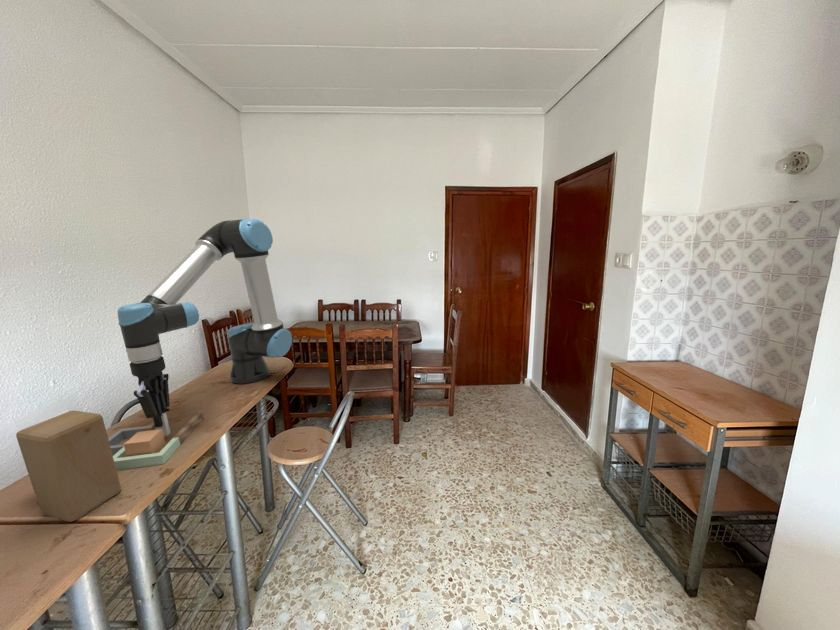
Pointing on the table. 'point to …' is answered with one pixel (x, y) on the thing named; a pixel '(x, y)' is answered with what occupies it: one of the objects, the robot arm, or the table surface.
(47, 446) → the wooden block
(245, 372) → the robot arm
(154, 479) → the table surface
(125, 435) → the trap bay
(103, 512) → the table surface
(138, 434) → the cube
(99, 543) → the table surface
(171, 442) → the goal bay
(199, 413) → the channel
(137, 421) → the table surface
